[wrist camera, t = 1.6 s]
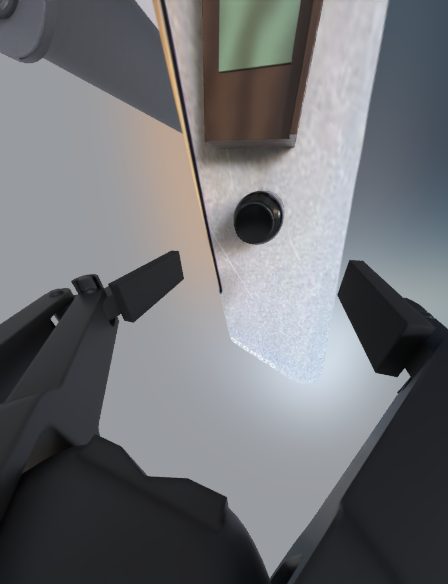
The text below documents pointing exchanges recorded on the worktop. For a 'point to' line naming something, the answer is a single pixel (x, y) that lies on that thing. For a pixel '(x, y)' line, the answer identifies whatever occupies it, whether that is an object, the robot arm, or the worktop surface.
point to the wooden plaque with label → (256, 69)
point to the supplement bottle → (258, 217)
